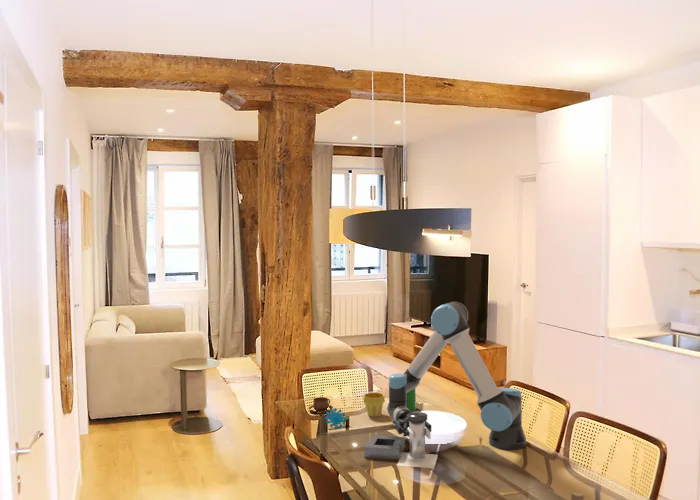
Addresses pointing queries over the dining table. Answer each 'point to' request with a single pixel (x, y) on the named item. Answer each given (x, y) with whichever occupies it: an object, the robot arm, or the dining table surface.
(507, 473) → the dining table surface
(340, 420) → the gear
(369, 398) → the plant pot
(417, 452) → the flanged shaft
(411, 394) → the motor
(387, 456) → the housing
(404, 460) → the pad
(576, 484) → the dining table surface
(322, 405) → the cup and saucer
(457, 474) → the dining table surface
